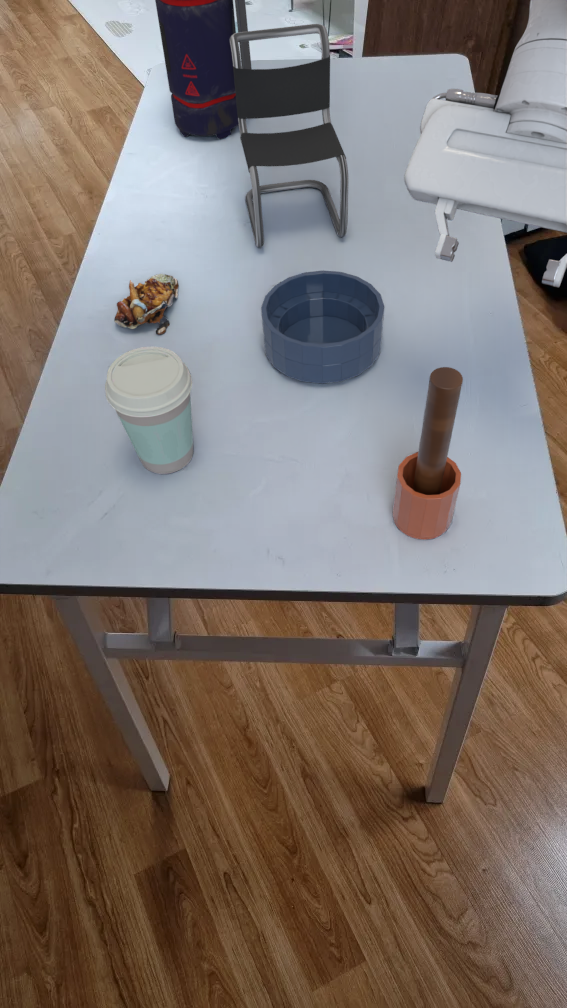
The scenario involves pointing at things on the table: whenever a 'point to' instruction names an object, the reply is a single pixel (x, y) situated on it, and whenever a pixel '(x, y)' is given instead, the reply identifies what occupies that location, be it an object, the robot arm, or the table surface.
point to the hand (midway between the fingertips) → (495, 271)
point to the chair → (283, 97)
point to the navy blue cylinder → (202, 62)
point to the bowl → (322, 326)
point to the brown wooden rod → (437, 429)
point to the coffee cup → (153, 406)
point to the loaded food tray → (148, 302)
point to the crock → (424, 501)
